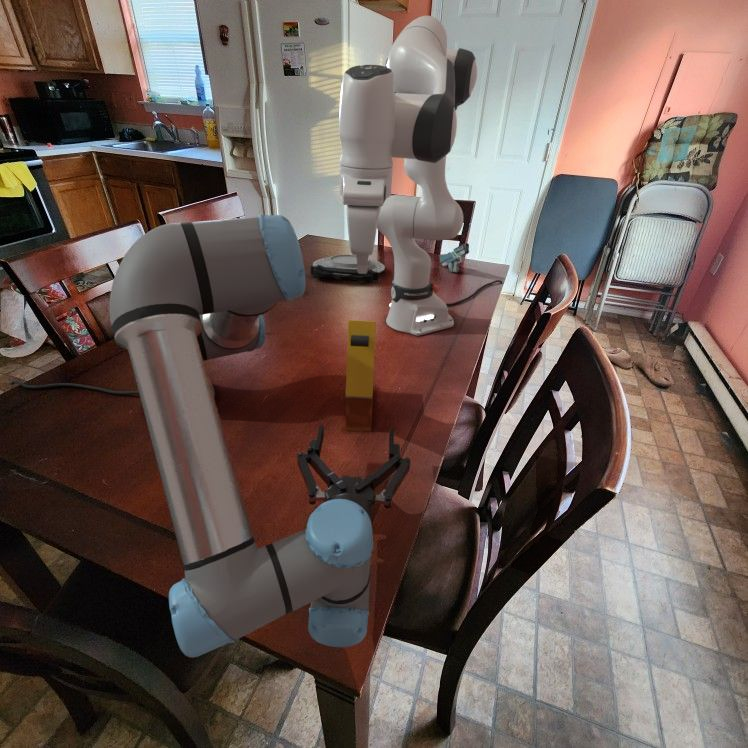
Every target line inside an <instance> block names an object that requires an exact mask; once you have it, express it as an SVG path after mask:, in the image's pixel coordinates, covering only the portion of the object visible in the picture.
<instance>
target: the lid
mask: <svg viewBox="0 0 748 748" xmlns="http://www.w3.org/2000/svg"><path fill="white" fill-rule="evenodd" d="M347 323H348V324H347V345H346V347H347V349H346V371H345V374H346V375H345V376H346V377H345V397H346V396H356V397H372V395H373V396H374V381H373V375H374V376H375V352H376V349H375V348H376V332H377V331H376V330H377V321H376V320H375V321H374V320H360V319H359V320H356V319H348V321H347Z"/></svg>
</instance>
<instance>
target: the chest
mask: <svg viewBox="0 0 748 748" xmlns="http://www.w3.org/2000/svg"><path fill="white" fill-rule="evenodd" d="M374 377H375V374H374V375H373V382H374ZM373 399H374V394H373V395H372V397H356V396H346V395H345V431H351V432H352V431H355V432H372V421H373V420H372V418H373V402H374V401H373Z"/></svg>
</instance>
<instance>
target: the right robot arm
mask: <svg viewBox="0 0 748 748" xmlns="http://www.w3.org/2000/svg"><path fill="white" fill-rule="evenodd" d="M477 78H478V66H477V62H476V56H475V54H474V53H473V52H472V51H471V50H468V49H465V48H460V47H459V48H458V49H456V48H452V47H448V34H447V31H446V29H445V27H444V25H443V23H442V22H441V21H440V20H439V19H438V18H436V17H434V16H432V15H422V16H419V17H416V18H415V19H413V20H411V21H410V22H409V23H408V24H407V25H406V26H405V27H404V28H403V29H402V30H401V32H400V33H399V34H398V35H397V37H396V39H395V40H394V42H393V43H392V44H391V47H390V49H389V52H388V56H387V58H386V60H385V65H381V64H363V65H360V64H359V65H355V66H351V67H349V68H348V69H347V70H345V71H344V73H343V75H342V82H341V87H340V88H341V90H340V96H339V97H340V98H339V116H338V117H339V118H338V119H339V120H338V125H339V126H338V127H339V128H338V129H339V138H340V143H341V154H340V158H339V194H340V196H341V197H342V204H343V205H344V206H346V224H347V235H348V246H349V250H350V253H351V255H356V258H357V272H358V273H359V274H366V273H367V269H368V259H369V256H372V255H373V252H374V248H375V242H376V235H377V231H379V232H380V233H381V235H383V236H384V237H385V239H386V241H387V242H388V244H389V245H390V248H391V250H392V255H393V265H394V269H393V271H394V273H393V279H392V281H391V282H392V283H391V289H390V292H391V293H390V294H391V295H390V297H391V301H390V303H389V310H388V314H387V316H386V318H385V323H386V324H387V326H388V327H389V328H391V329H393V330H395V331H397V332H402V333H408V334H411V335H413V336H417V337H420V336H423V335H428V334H431V333H435V332H438V331H443V330H445V329H450V328H453V327H454V326H455V319H454V318H453V317H452V316H451V315H450V313H449V309H448V307H451V306H455V305H458V304H461V303H463V302H466V301H468V300H470V299H471V298H472V297H474V296H476V294H477V293H478V292H480V291H481V290H482V289H484V288H485V287H488V286H491V285H493V284H495V283H500V284H503V281H502V280H500V279H497V280H494V281H490V282H488V283H485V284H484V285H482V286H481V287H479V288H477V290H476V291H474V292H473V293H472V294H470V295H469V296H467V297H466V298H463V299H461V300H458V301H455V302H451V303H446V302H445V301H444V300H443V299H442V298H441V297H440V296H438V295H437V294H438V293H439V292H440V290H441V289H440V286H438V285H437V284H434V283H433V281H431V280H430V278H431V270H432V259H431V255H429V253H428V252H427V251H425V250H424V249H423V248H421V247H420V246H419V245H418V243H417V242H416V241H415V239H422V240H430V241H448V240H449V241H450V240H453V239H455V238H456V237H457V236H458V235H459V233H460V232H461V230H462V229H463V225H464V212H463V210H462V207H461V206H460V204H459V203H458V202H457V201H456V200H455V199H454V197H453V196H452V195H451V193H450V191H449V188H448V185H447V179H446V163H447V156H448V155H449V154H450V152H451V151H452V148H453V147H454V143H455V140H456V136H457V128H458V119H457V118H458V117H457V110H458V107H460V106H461V105H464V104H465V103H466V102H467V100H469V98H470V97H471V95H472V93H473V90H474V89H475V86H476V82H477ZM394 158H395V159H396V158H397V159H404V162H403V170H404V172H405V175H406V176H407V177H408V178H409V179H410V180H411V181H413V182H414V183H415V184H416V185H418V186H419V187H421V190H422V196H413V195H412V196H411V195H404V194H403V195H402V194H393V195H392V187H393V186H392V185H393V167H394V161H393V159H394ZM436 293H437V294H436Z"/></svg>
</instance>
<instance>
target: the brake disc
mask: <svg viewBox="0 0 748 748" xmlns="http://www.w3.org/2000/svg"><path fill="white" fill-rule="evenodd" d="M385 269H386V266H385V265H384V264H383V263H381V262H380V261H377V260H374V259H371V258H368V269H367V273H366V274H359V273H358V272H357V258H356V255H353V254H335V255H332V256H330V257H329V256H328V257H323V258H319V259H316V260H314V261H313V263H312V265H310V275H311V276H313V277H314V278H318V279H322V278H323V279H327V280H332V281H333V280H334V281H339V282H340V281H341V282H355V283H356V282H359V283H360V282H364V283H368V284H369V283H371V282H378V281H379V274H380V273H383V272H384V271H385Z"/></svg>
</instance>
